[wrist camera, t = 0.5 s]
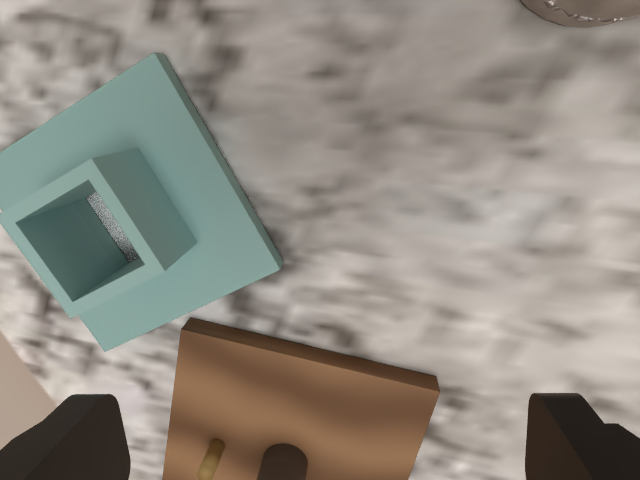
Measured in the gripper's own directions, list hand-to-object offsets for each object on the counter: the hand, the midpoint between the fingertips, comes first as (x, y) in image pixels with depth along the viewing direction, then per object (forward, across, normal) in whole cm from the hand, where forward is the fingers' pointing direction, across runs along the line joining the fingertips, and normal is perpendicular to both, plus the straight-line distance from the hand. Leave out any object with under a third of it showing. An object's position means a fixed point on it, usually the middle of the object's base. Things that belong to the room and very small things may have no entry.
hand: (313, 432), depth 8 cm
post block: (+18, +5, +16) cm, 24 cm away
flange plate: (+17, +12, -1) cm, 21 cm away
